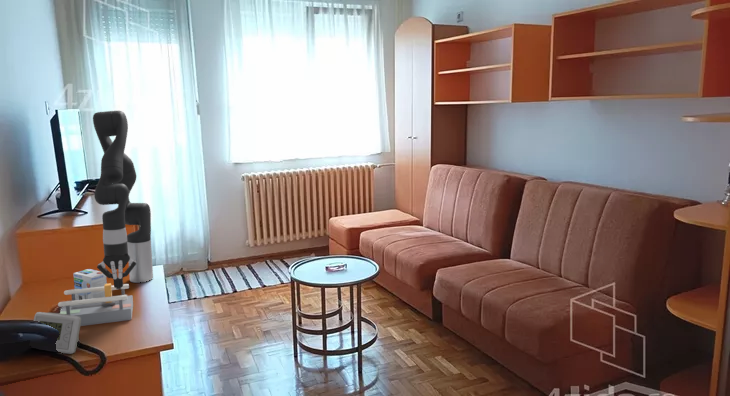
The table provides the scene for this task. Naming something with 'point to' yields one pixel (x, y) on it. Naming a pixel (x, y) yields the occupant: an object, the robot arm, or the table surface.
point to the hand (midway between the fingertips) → (118, 288)
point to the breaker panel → (98, 306)
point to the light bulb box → (89, 283)
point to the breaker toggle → (108, 294)
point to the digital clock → (62, 329)
